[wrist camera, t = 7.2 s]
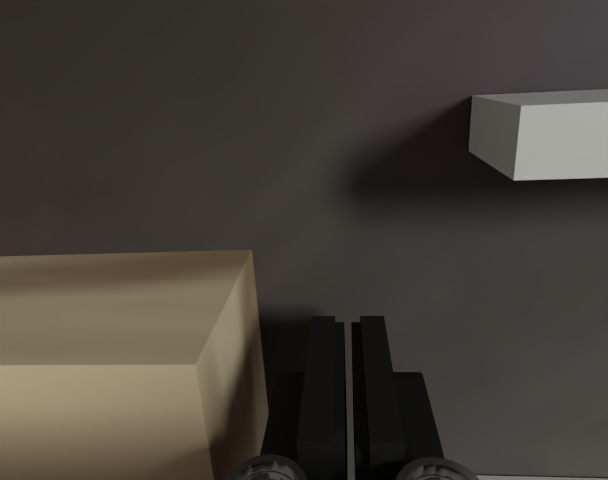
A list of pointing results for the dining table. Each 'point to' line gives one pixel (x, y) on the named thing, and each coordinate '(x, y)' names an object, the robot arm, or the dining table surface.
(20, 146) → the dining table surface
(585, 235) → the dining table surface
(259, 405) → the maple block
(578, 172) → the channel
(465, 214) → the dining table surface
